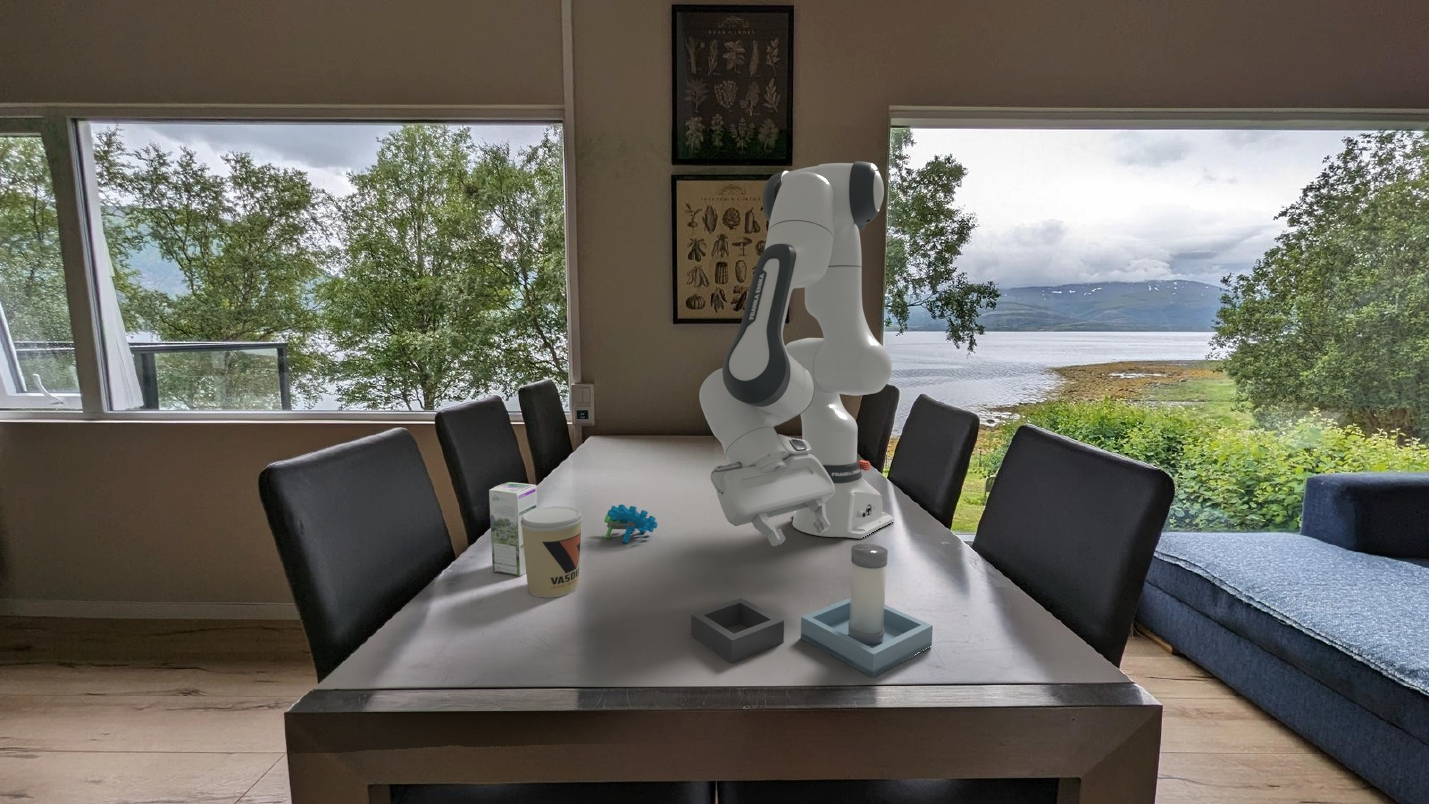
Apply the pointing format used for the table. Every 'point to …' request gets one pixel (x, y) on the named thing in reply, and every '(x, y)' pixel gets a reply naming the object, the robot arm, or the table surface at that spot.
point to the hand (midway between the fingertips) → (803, 536)
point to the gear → (628, 521)
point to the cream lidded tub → (552, 550)
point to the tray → (832, 637)
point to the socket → (742, 644)
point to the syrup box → (509, 525)
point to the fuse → (867, 593)
